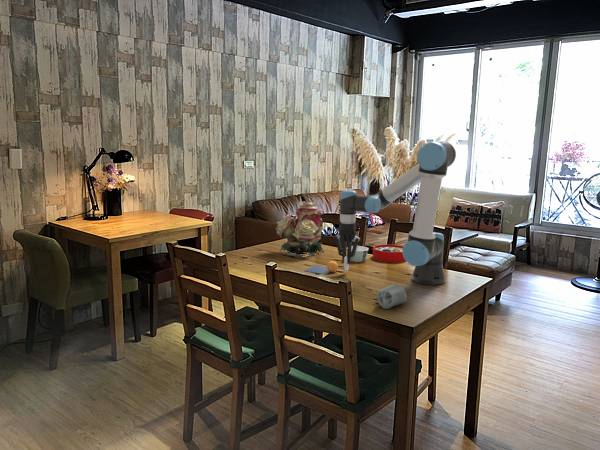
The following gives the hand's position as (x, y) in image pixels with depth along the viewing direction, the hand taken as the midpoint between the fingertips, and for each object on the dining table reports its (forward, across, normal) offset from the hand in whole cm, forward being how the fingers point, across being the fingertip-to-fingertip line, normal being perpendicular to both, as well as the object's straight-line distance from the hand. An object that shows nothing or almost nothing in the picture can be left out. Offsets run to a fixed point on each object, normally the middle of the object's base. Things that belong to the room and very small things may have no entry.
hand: (346, 270), depth 248 cm
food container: (+2, +6, -30) cm, 31 cm away
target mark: (+2, +14, 0) cm, 14 cm away
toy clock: (+3, -9, -43) cm, 44 cm away
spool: (+2, -34, +35) cm, 49 cm away
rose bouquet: (+2, +39, -29) cm, 49 cm away
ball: (-1, +7, 0) cm, 7 cm away
